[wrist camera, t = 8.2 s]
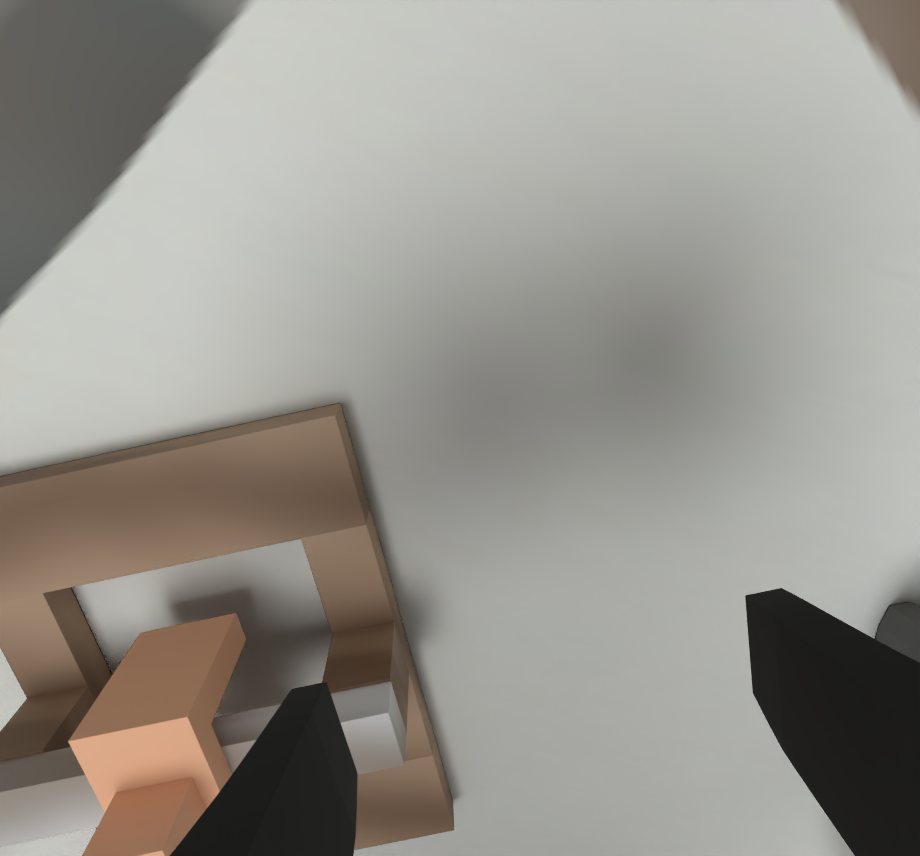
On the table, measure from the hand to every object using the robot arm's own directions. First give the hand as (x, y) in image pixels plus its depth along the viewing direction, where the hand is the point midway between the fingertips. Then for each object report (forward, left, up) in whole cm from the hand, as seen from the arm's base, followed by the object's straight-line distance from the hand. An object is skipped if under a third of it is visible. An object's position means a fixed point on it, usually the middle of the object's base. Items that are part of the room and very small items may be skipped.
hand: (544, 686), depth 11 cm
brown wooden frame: (-5, +10, -10) cm, 15 cm away
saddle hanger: (-5, +10, -8) cm, 14 cm away
